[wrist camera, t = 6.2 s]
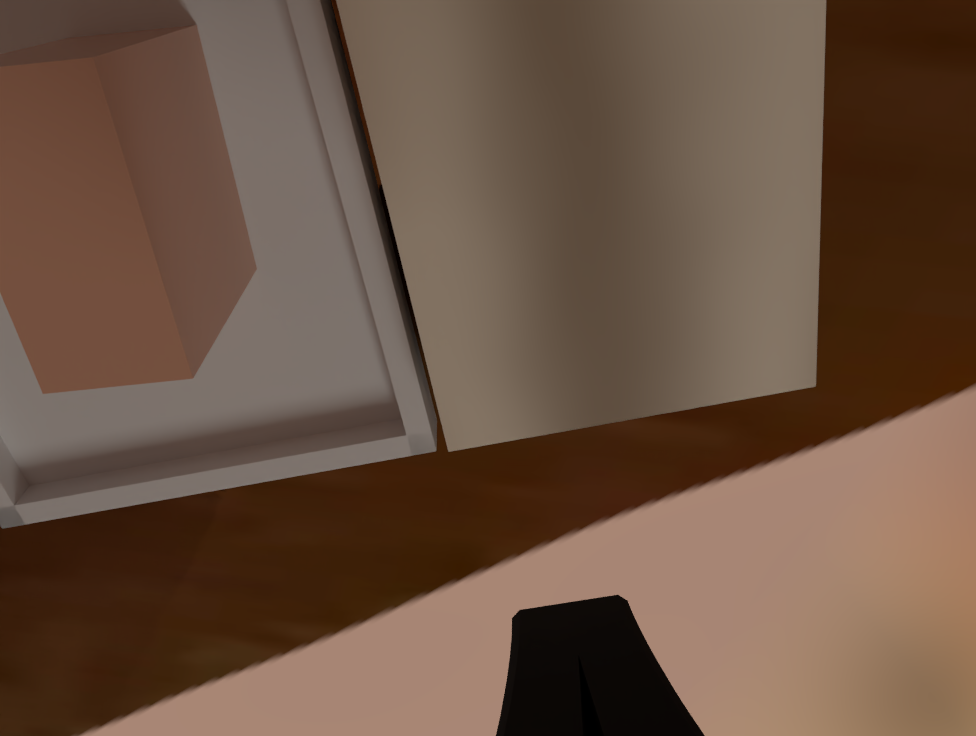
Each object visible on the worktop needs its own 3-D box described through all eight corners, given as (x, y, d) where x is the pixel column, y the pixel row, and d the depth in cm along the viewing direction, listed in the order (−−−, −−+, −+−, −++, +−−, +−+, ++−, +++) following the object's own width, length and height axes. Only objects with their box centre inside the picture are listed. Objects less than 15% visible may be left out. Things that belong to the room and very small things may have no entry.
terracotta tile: (93, 57, 11) (-92, 76, 11) (193, 378, 13) (43, 394, 13) (196, 24, 15) (66, 37, 15) (256, 268, 17) (144, 280, 17)
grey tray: (267, -253, 13) (249, -273, 12) (436, 420, 20) (436, 451, 19) (-330, -122, 14) (-407, -128, 13) (28, 493, 21) (2, 528, 19)
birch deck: (759, -285, 14) (835, -341, 11) (765, 325, 19) (815, 386, 17) (312, -189, 14) (281, -221, 11) (448, 383, 20) (448, 451, 17)
